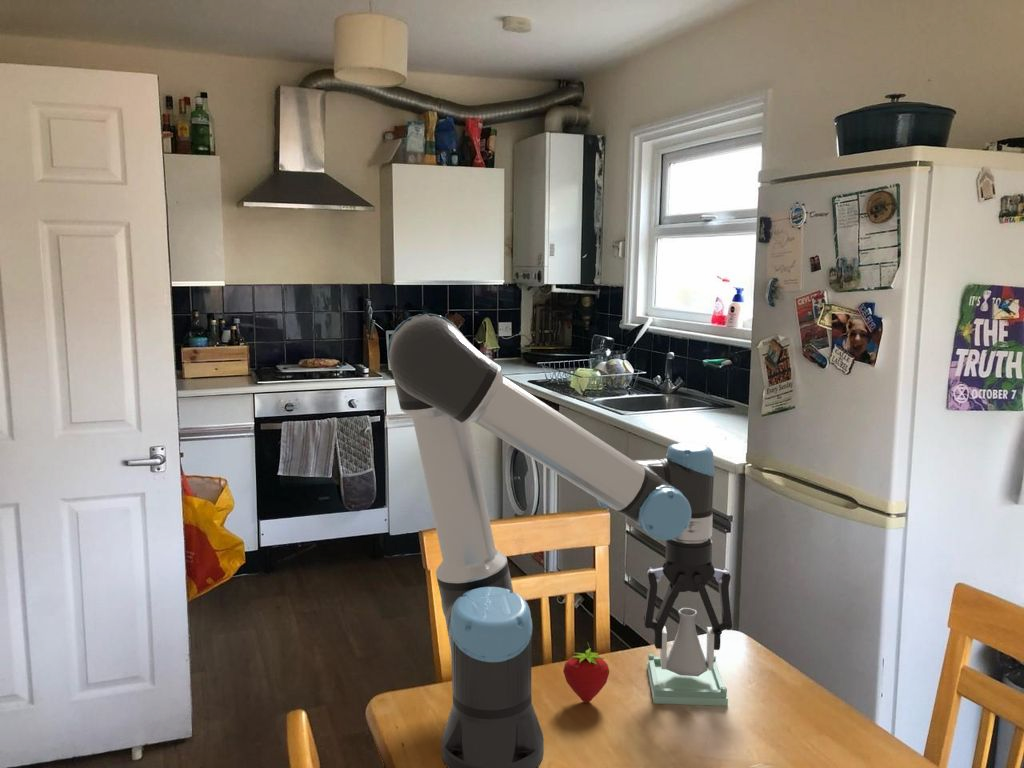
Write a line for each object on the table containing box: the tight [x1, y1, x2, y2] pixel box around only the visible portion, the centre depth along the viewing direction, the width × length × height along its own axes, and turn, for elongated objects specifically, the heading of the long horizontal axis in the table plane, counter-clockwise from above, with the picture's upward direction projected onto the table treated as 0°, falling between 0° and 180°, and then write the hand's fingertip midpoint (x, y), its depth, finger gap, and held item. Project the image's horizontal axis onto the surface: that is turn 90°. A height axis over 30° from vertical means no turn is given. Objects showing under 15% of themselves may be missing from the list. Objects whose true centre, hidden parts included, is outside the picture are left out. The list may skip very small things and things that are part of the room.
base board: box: [646, 653, 729, 707], centre depth 141 cm, size 12×12×3 cm
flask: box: [666, 607, 708, 676], centre depth 140 cm, size 7×7×10 cm
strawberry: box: [562, 642, 610, 703], centre depth 136 cm, size 6×8×10 cm
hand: (686, 665), depth 141 cm, fingers closed on flask, 7 cm apart
